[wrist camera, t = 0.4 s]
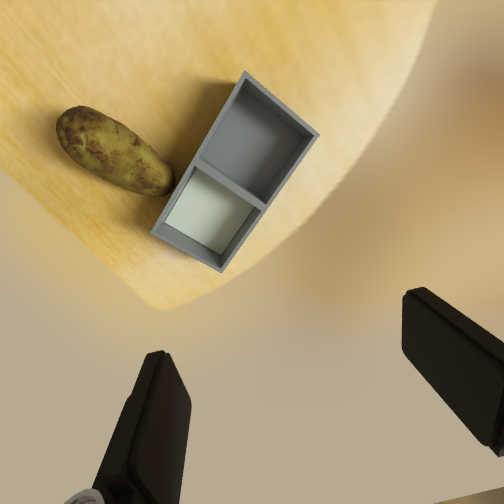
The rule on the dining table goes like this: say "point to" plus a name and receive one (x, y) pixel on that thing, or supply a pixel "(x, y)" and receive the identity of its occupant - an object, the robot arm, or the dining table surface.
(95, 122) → the potato
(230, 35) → the dining table surface
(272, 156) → the divided open storage box
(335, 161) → the dining table surface
